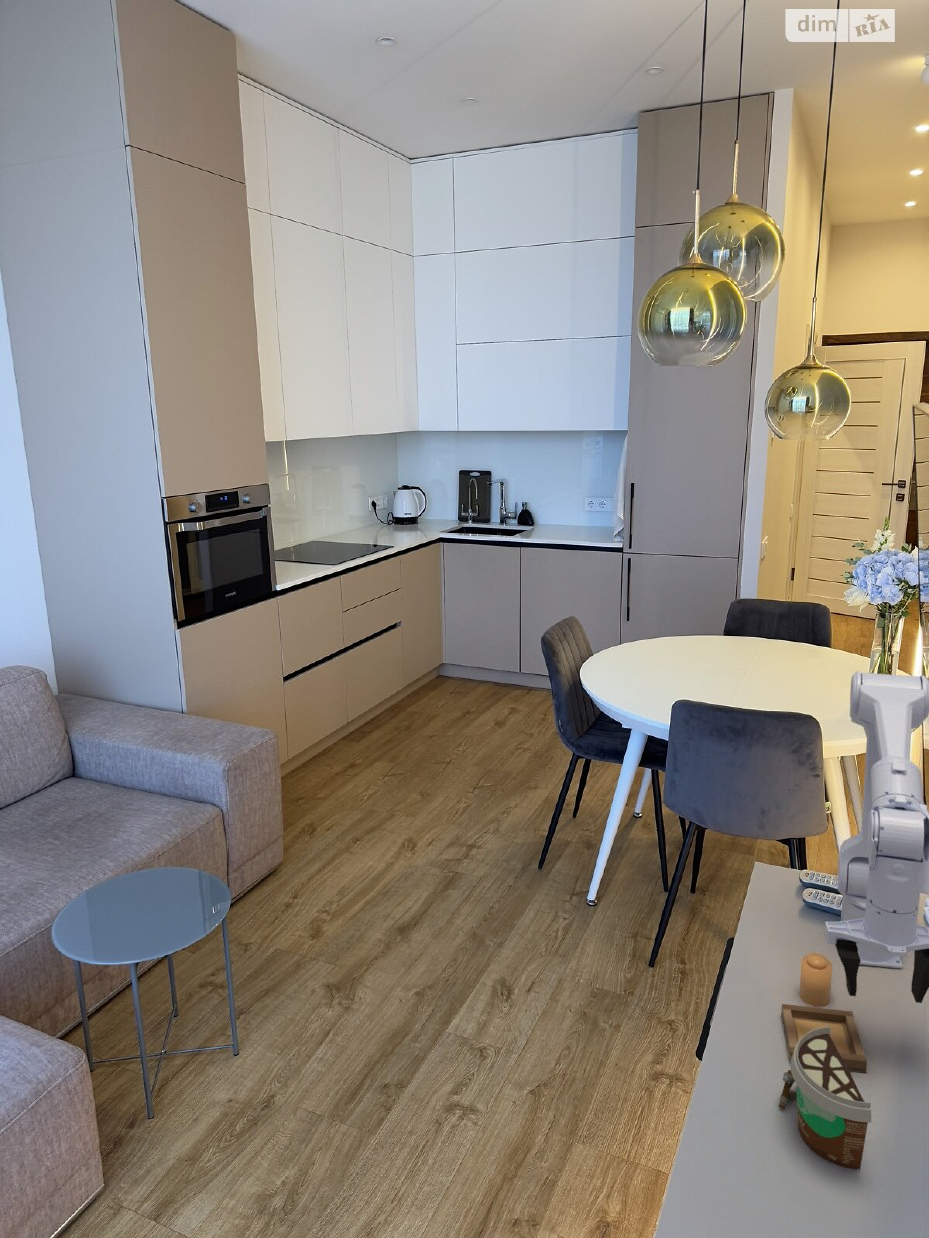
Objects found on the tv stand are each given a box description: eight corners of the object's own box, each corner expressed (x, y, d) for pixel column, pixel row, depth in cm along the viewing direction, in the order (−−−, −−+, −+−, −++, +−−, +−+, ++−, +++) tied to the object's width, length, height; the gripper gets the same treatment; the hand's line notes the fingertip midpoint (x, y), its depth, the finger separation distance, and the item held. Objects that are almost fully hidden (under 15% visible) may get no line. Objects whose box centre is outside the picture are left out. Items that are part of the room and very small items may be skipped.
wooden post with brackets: (770, 1104, 102) (779, 1068, 102) (798, 1092, 107) (807, 1057, 108) (784, 1113, 101) (793, 1076, 101) (812, 1100, 106) (821, 1065, 106)
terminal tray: (781, 1014, 117) (781, 1003, 117) (851, 1022, 115) (852, 1011, 115) (790, 1063, 109) (791, 1052, 108) (866, 1073, 107) (867, 1061, 106)
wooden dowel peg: (797, 985, 123) (799, 948, 121) (826, 988, 122) (829, 951, 120) (801, 1004, 119) (804, 966, 117) (832, 1008, 118) (835, 969, 116)
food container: (772, 1092, 105) (776, 1024, 102) (823, 1091, 105) (828, 1023, 102) (808, 1181, 93) (814, 1107, 90) (865, 1181, 93) (872, 1106, 90)
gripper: (835, 914, 101) (828, 1009, 105) (969, 925, 98) (957, 1022, 102) (824, 881, 108) (818, 972, 112) (949, 890, 105) (938, 983, 108)
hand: (883, 993), depth 107 cm, fingers open, 7 cm apart
